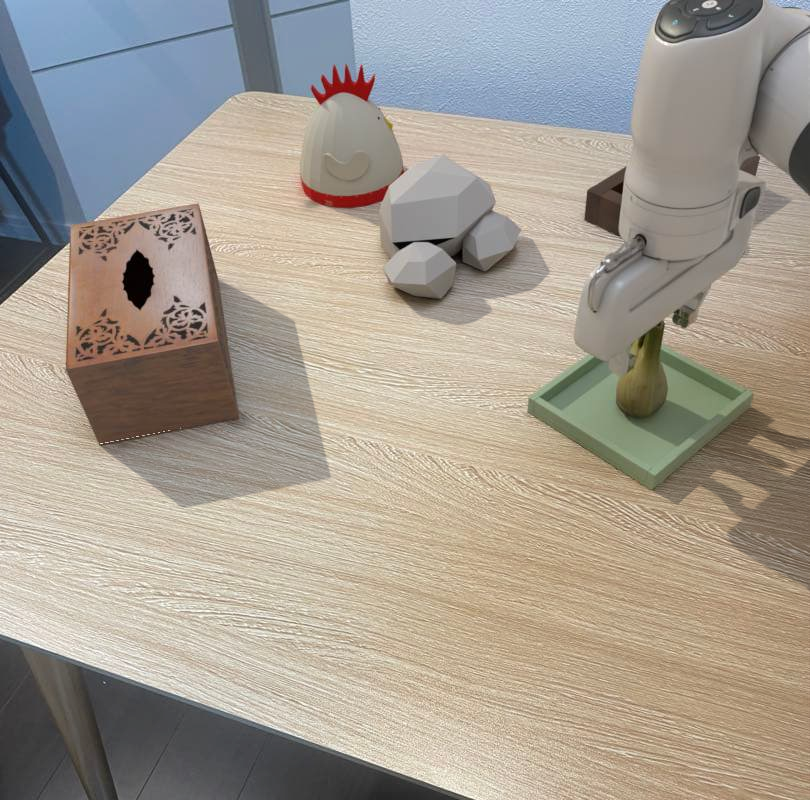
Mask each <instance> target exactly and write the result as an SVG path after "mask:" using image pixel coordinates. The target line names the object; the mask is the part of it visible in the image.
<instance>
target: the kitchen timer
mask: <svg viewBox="0 0 810 800" xmlns="http://www.w3.org/2000/svg"><path fill="white" fill-rule="evenodd" d="M375 80H376V73H373V75H372V76H371V78H370V79H369V80H368V81H365V74H364V67H363V64H360V65H359V69H358V75H357V79H356V81H354V80H353V79H352V75H351V72H350V69H349V67H348V64H347V63H345V66H344V80H343V82H342V81H341V77H340V75H339V72H338V69H337V67H336V65H335V64H333V65H332V83H330V81H329V80H328V79H327V78H326V76H325V75H324V74H321V76H320V81H321V84H322V87H323V89H324V93H321V92H319V91H318V89H317V88H316V87H315V85H313V84H311V85H310V91H311V92H312V95H313V97H314V98H315V100H316V102H317V103H318V104H317V106H316V107H315V109H314V110H313V111H312V114H311V115H310V117H309V119H308V122H307V124H306V126H305V131H304V134H303V140H302V146H301V153H300V161H299V174H300V175H299V176H300V183H301V188H302V190H303V192H304V194H305V195H306V196H307V197H308V198H309V199H310V200H311V201H313V202H315V203H318V204H320V205H323V206H327V207H332V208H349V209H352V208H359V207H366V206H371V205H373V204H376V203H379V202H383V199H384V197H385V194H386V192H387V190H388V187H389V185H391V184H392V183H393V182H394V181H395V180H396V179H398V178H399V177H400V176H401V175H402V174H403V173H405V171H404V160H403V154H402V151H401V148H400V146H399V142H398V141H397V137H396V135H395V133H394V130H393V127H394V126H393V124H392V123H391V122H390V121H389V120H388V119H387V117H386V116H385V114H384V113H383V111H382V110H381V108H380V107H379V106H378V105H377V104H376V103H375V102H374V101H373V100H372V99H371V98H370V95H371V92H372V91H373V87H374V84H375Z"/></svg>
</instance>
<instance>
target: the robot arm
mask: <svg viewBox="0 0 810 800" xmlns="http://www.w3.org/2000/svg"><path fill="white" fill-rule="evenodd" d="M630 132H631V133H630V134H631V137H632V138H631V139H632V151H631V156H630V157H629V160H628V162H627V165H626V166H627V167H626V166H625V167H626V171H625V176H624V185H623V194H622V202H621V211H620V219H619V233H620V236H621V237H620V236H619V237H620V239H621V240H622V241H623V242H624V243H623V244H622V245H621V246H620V247H619V248H618V249H617V250H616V251H614V252H611V253H609V254H607V255H606V256H605V257H603V259H601V261H600V263H599V264H598V265H596V266H595V267H594V268H593V269H592V271H590V272H589V274H588V275H587V278H586V279H585V282H584V284H583V286H582V289H581V290H582V291H581V294H580V298H579V302H578V308H577V312H576V317H575V325H574V331H573V341H574V343H575V345H576V347H578V348H579V349H581V350H582V351H583V352H585V353H587V355H588V354H590V355H592V356H594V357H596V358H598V359H601V360H603V361H608V360H609V366H608V367H609V370H610V371H611V372H612V373H614V374H616V375H618V376H619V377H623V376H624V375H625V374H627V373H628V372H629V371H630V370H632V369H633V368H634V365H633V364H634V362H635V355H633V354H631V353H627V350H628V349H629V348H630V347H631V344H632V343H633V342H635V341H636V340H637V339H639V338H640V337H641V336H643V335H644V334H645V333H647V332H648V331H649V330H651V329H652V328H653V327H655V326H656V325H657V324H659V323H660V322H661V321H665V319H667V318H668V317H669V316H671V315H672V318H671V320H672V323H673V324H674V325H676V326H679V327H681V328H682V329H686V328H688V327H690V326H691V325H692V324H693V323H695V322H696V321H697V319H698V314H699V310H700V308H701V305H703V302H704V301H705V299H706V297H707V295H708V294H709V291H710V290H711V288H712V284H713V283H715V282H716V281H717V280H719V279H720V278H722V277H723V276H724V275H726V274H727V273H728V272H729V271H731V270H732V269H734V268H735V267H736V266H737V265H738V263H739V262H740V261H741V259H742V258H743V256H744V253H745V252H746V250H747V246H748V244H749V240H750V237H751V234H752V230H753V227H754V224H755V223H754V222H755V218H756V214H757V207H758V206H759V205H760V204H761V203H762V201H763V199H764V197H765V192H766V188H767V182H766V180H764V179H761V178H759V177H758V176H753V175H751V174H749V173H746V172H744V171H742V170H740V166H741V164H742V163H743V162H744V161H745V160H746V159H747V158H750V157H754V156H759V155H760V157H763V158H764V159H765V160H767V161H768V162H769V163H771V164H772V165H774V166H775V167H777V168H778V169H779V170H781V171H782V172H783V173H785V174H786V175H787V176H789V177H790V178H791V179H792V181H793V182H794V183H795V184H796V185H797V186H798V187H799V188H800V189H801V190H802V191H803V192H805V194H807V196H809V197H810V10H807V9H803V8H801V7H800V8H799V7H796V6H782V7H780V6H779V5H775V4H774V3H771V2H769V0H668V1H667V2H666V3H665V4H664V5H662V7H661V8H660V10H659V11H658V12H657V14H656V16H655V18H654V20H653V21H652V23H651V26H650V28H649V30H648V33H647V36H646V39H645V41H644V45H643V49H642V51H641V56H640V61H639V65H638V69H637V75H636V81H635V87H634V94H633V102H632V107H631V115H630Z"/></svg>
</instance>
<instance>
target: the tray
mask: <svg viewBox="0 0 810 800" xmlns="http://www.w3.org/2000/svg"><path fill="white" fill-rule="evenodd" d="M632 344H633V343H632ZM632 344H631V347H632ZM631 347H630V348H629V349H628V350H627V353H629V352H630V350H631ZM659 358H660V361H661V363H662V366H663V369H664V372H665V375H666V379H667V385H668V392H667V397H666V400H665V402H664V404H663V405H662V407H661V408H660V409H659V410H658V411H656V412H655V413H653V414H651V415H650V416H648V417H636V416H629V415H627V414H625V413H623V412H622V411H621V410H620V409H619V408H618V406H617V404H616V388H617V383H618V380H619V376H618V375H616V374H614V373H612V372H611V371H610V370H609V367H608V366H609V360H608V361H603V360H601V359H598V358H596V357H594V356H592V355H590V354H588V353H587V354H586V355H584V357H582V358H581V359H579V360H578V361H576V362H575V363H573V365H571V366H570V367H568V368H567V369H566V370H564V371H563V372H561V373H559V375H557V376H556V377H554V378H553V379H551V380H550V381H548V382H547V383H546V384H545V385H543V386H542V387H540V388H539V389H538V390H536V391H535V392H533V393H532V394H530V395H529V396H528V399H527V413H529V414H530V415H532V416H534V417H535V418H537V419H538V420H540V421H542V422H543V423H545V425H548V426H549V427H551V428H553V429H554V430H556V431H557V432H559V434H560V433H561V434H562V435H563V436H565V437H567V438H569V439H570V440H571V441H573V442H575V443H576V444H578V445H579V446H581V447H583V448H584V449H585V450H587V451H588V452H591V453H592V454H593V455H595V456H597V457H598V458H600V459H601V460H603V461H604V462H607V464H609V465H611V466H612V467H614V468H616V469H617V470H619V471H621V472H623V473H624V474H625V475H627V476H628V477H630V478H631V479H633V480H634V481H636V482H638V483H639V484H641V485H642V486H644V487H645V488H647V489H649V490H650V491H653V490H654V489H655V488H656V487H658V486H659V485H660V484H661V483H662V482H664V481H665V480H666V479H667V478H668V477H670V475H672V474H673V473H674V472H675V471H677V470H678V469H679V468H681V466H682V465H684V464H685V463H686V462H687V461H688V460H690V458H692V457H693V456H694V455H696V454H697V453H698V452H699V451H700V450H701V449H702V448H703V447H705V446H707V445H708V444H709V443H710V442H711V441H712V440H713V439H714V438H715V437H717V436H718V435H720V433H722V432H723V431H724V430H725V429H726V428H728V427H729V426H730V425H731V424H732V423H733V422H734V421H736V420H737V419H738V418H739V417H741V416H742V415H743V414H744V413H745V412H747V410H749V409H750V408H751V404H752V402H753V398H754V395H755V392H754V391H752V390H750V389H748V388H746V387H744V386H742V385H740V384H738V383H737V382H735V381H733V380H730V379H729V378H728V377H725V376H723V375H721V374H720V373H718V372H716V371H714V370H712V369H711V368H708V367H707V366H704V365H703V364H701V363H699V362H697V361H696V360H693V359H691V358H690V357H687V356H686V355H684V354H682V353H680V352H678V351H677V350H674V349H672V348H671V347H668V346H667V345H665V344H663V343H662V344H661V350H660V357H659Z"/></svg>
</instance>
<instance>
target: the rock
mask: <svg viewBox="0 0 810 800" xmlns="http://www.w3.org/2000/svg"><path fill="white" fill-rule="evenodd" d="M496 203H497V201H496V198H495V194H494V192H493V189H492V186H491V183H490V182H488V181H486V180H485V179H484V178H481V177H480V176H479V175H477V174H475V173H474V172H472V171H470V170H468V169H467V168H465V167H463V166H462V165H460V164H459V163H457V162H456V161H454V160H453V159H452V158H450V157H449V156H447V155H446V154H444V153H441V154H439V155H437V156H435V157H431V158H429V159H426V160H423V161H420V162H419V163H416V164H413V165H411V166H410V167H409V168H408V169H406V171H404V173H403V174H402V175H401V176H400V177H399V178H398V179H396V180H395V181H394V182H393V183H392V184H391V185H389V187H388V190H387V192H386V194H385V197H384V199H383V200H382V201H381V203H380V206H379V209H378V217H379V218H378V219H379V232H380V233H379V234H380V246H381V248H382V249H383V250H384V251H385V253H386V254H387V256H388V257H389V258H390V259H389V260H388V261H387V262H386V263H385V264H384V265H383V266H382V268H381V269H382V270H383V273H384V275H385V278H386V280H387V282H388V284H389V285H390V286H392V287H394V288H396V289H398V290H399V291H403V292H404V293H406V294H409V295H411V296H414V297H420V298H421V297H422V298H431V299H441V300H442V298H443V297H444V296H445V295H446V294H447V293H448V291H449V290H450V289H451V288H452V287H453V286H454V284H455V276H456V268H457V262H456V261H455V260H454V259H453V258H452V257H454V256H455V255H457V254H458V253H459V252H460V251H461V250H462V262H463V263H465V264H467V265H469V266H471V267H474V268H475V269H478V270H480V271H482V272H484V273H485V272H486V271H488V270H489V269H490V268H491V267H492V266H494V265H495V264H496V263H498V261H500V260H501V259H502V258H503V257H505V256H506V255H507V254H508V253H510V252H511V251H512V250H513V248H514V247H515V244H516V243H517V240H518V238H519V236H520V233H521V232H522V229H521V228H520V227H519V226H518V225H517V224H516V223H515V222H514V221H513V220H512V219H510V218H509V216H507V215H505V214H503V213H500V212H497V211H494V210H493V209H494V207H495V205H496Z"/></svg>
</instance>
